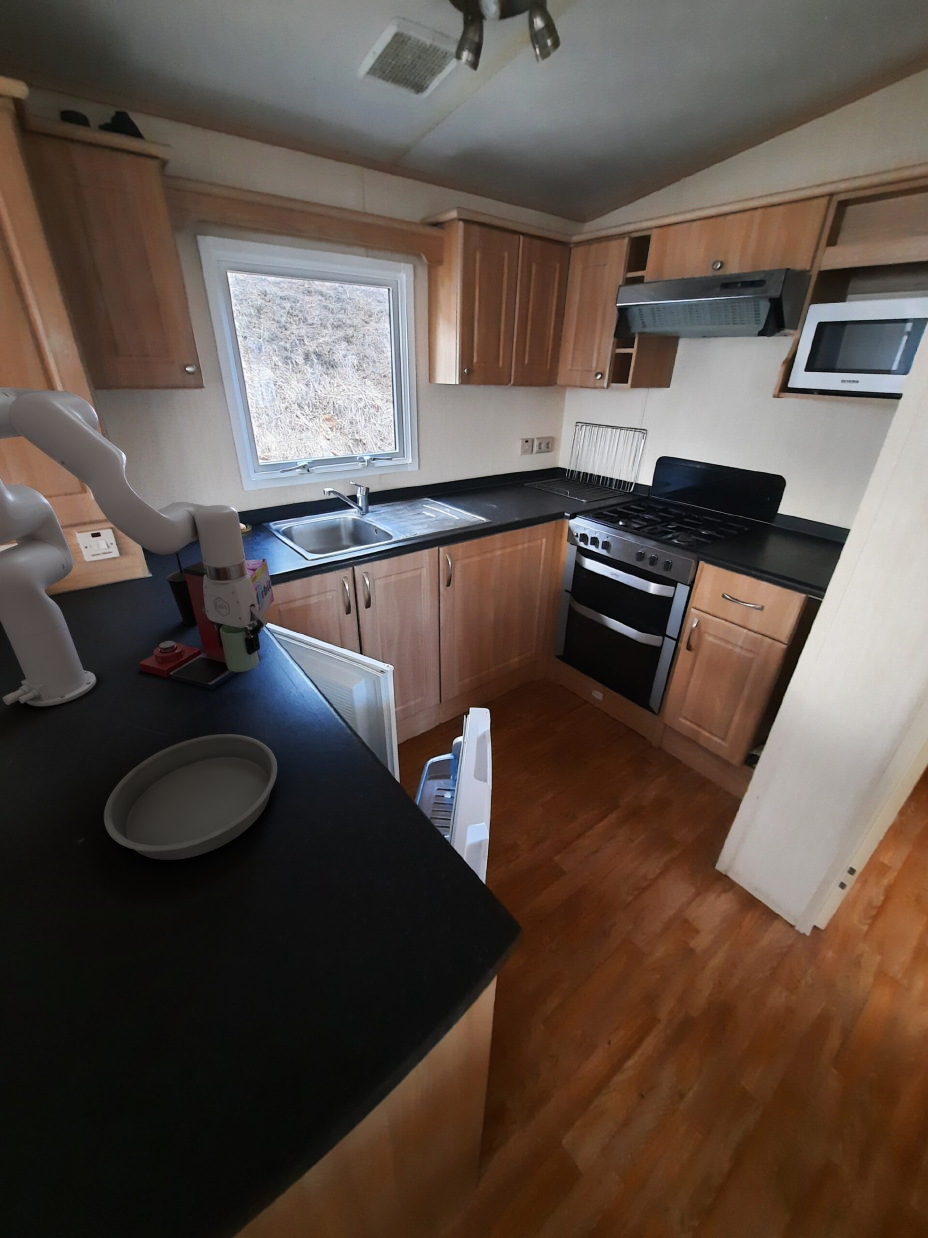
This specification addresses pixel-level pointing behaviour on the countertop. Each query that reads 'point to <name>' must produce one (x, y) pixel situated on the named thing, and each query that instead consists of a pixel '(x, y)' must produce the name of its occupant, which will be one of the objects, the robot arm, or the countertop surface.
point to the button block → (169, 660)
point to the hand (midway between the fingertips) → (240, 647)
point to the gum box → (261, 583)
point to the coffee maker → (203, 640)
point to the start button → (167, 647)
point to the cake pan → (192, 796)
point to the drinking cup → (182, 594)
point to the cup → (237, 649)
